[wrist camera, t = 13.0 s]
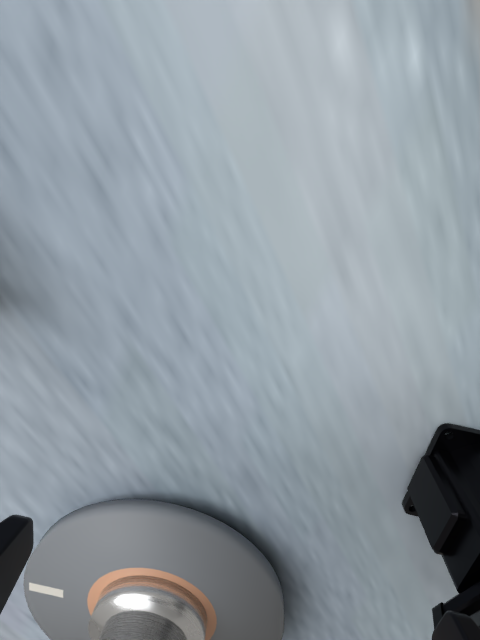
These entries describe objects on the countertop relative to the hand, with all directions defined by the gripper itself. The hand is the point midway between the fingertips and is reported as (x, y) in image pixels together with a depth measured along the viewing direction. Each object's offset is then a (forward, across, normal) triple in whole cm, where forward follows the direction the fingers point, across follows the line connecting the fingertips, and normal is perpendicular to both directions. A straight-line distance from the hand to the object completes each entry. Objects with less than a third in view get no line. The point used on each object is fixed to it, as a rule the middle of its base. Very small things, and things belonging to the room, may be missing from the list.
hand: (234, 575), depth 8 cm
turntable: (+12, +3, +21) cm, 24 cm away
